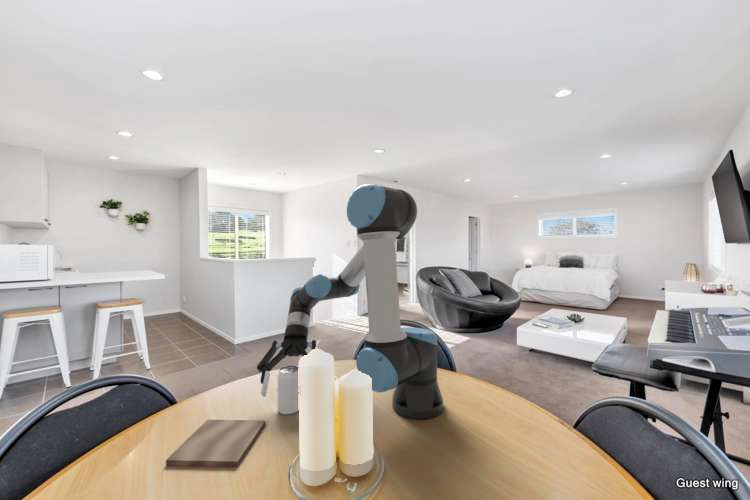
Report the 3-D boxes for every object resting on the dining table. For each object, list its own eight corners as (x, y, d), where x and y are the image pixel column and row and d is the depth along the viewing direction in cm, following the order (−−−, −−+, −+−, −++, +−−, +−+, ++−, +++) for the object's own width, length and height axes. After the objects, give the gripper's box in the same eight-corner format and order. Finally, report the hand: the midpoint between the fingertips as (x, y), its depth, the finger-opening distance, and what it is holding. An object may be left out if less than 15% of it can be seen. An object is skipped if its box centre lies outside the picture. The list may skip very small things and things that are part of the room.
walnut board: (265, 424, 84) (265, 420, 84) (237, 466, 68) (237, 461, 68) (207, 423, 85) (207, 419, 85) (166, 465, 69) (165, 460, 69)
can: (305, 406, 94) (304, 366, 94) (290, 417, 88) (290, 375, 88) (288, 402, 97) (287, 363, 96) (273, 412, 91) (272, 371, 90)
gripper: (335, 333, 109) (331, 397, 94) (262, 335, 107) (246, 400, 93) (333, 322, 103) (329, 388, 89) (256, 323, 102) (239, 390, 87)
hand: (287, 394), depth 91 cm, fingers open, 13 cm apart
